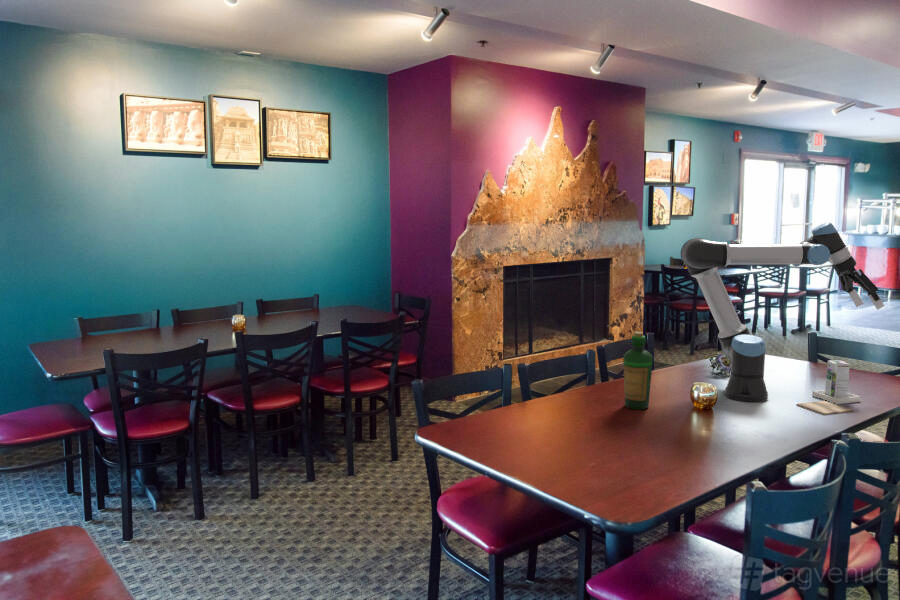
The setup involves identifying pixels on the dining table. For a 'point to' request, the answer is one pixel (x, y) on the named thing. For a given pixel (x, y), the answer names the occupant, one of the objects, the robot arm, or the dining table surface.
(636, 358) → the bottle
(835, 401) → the white square frame
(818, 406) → the mat
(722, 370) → the passion flower
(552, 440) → the dining table surface
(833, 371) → the syrup box
